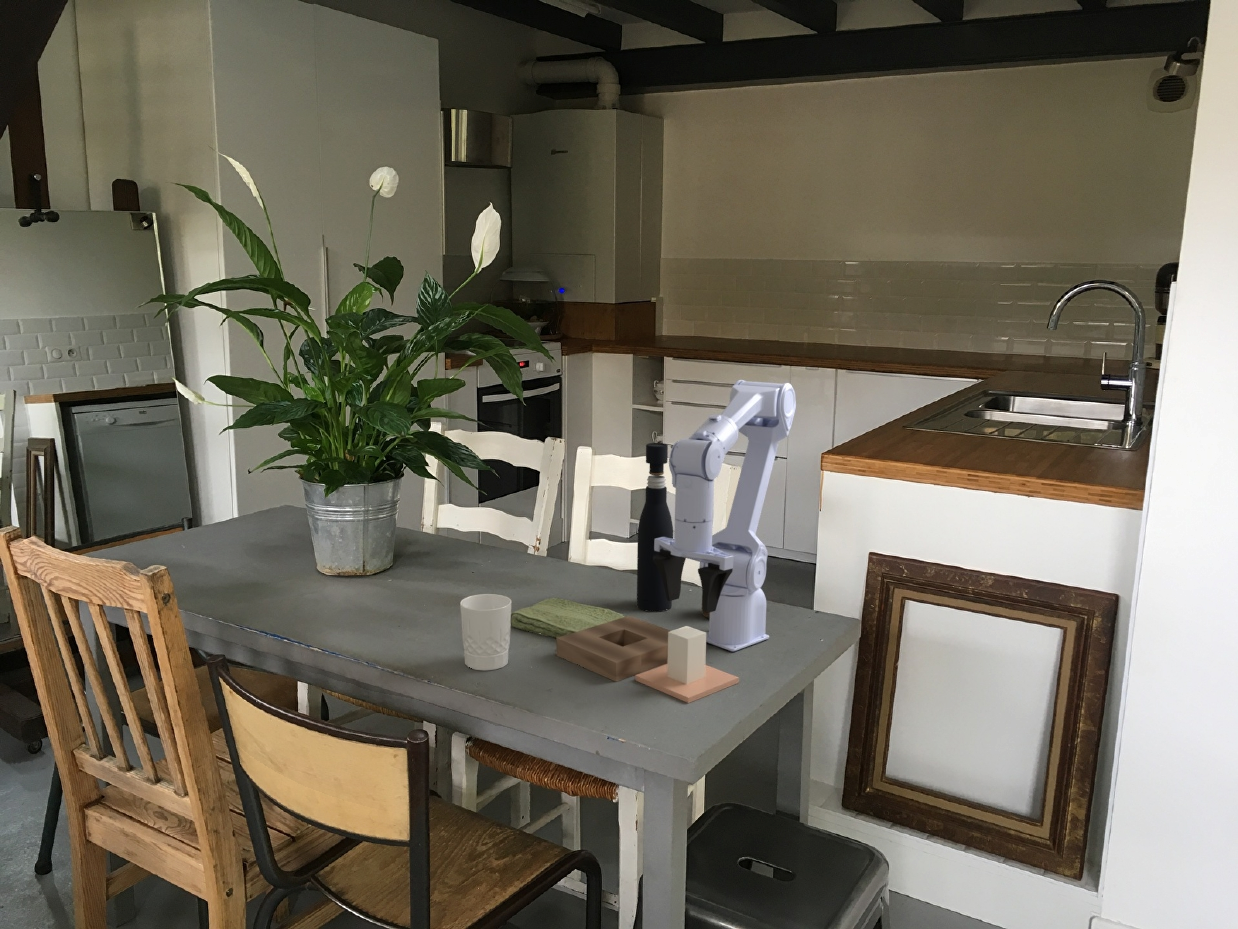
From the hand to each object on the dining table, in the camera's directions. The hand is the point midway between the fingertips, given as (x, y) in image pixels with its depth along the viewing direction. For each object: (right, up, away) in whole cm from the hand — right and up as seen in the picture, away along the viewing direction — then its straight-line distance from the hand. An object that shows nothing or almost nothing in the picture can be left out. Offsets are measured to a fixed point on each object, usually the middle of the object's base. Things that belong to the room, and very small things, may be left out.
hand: (691, 605), depth 158 cm
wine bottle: (-5, -5, +32) cm, 32 cm away
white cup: (-32, -10, +4) cm, 33 cm away
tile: (-1, -11, -2) cm, 11 cm away
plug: (-1, -10, -3) cm, 11 cm away
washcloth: (-20, -7, +21) cm, 30 cm away
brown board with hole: (-10, -9, +8) cm, 16 cm away
